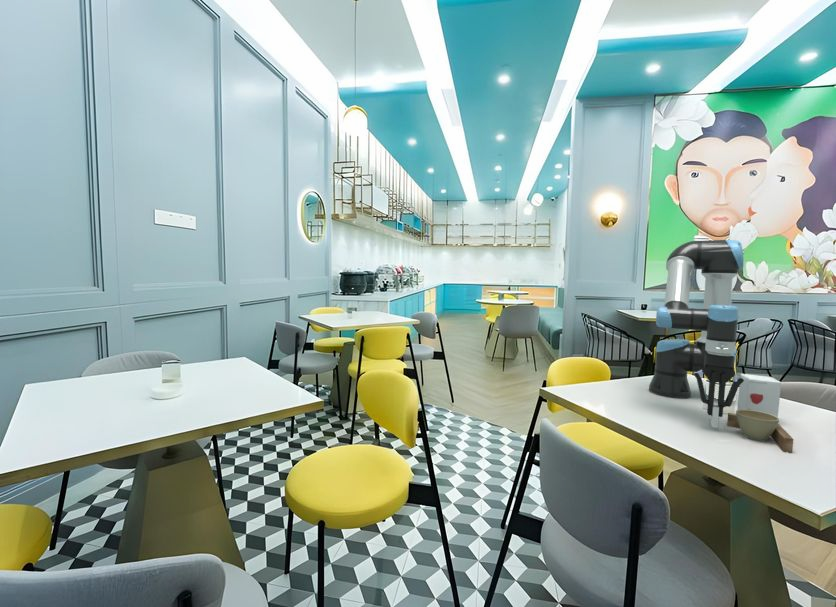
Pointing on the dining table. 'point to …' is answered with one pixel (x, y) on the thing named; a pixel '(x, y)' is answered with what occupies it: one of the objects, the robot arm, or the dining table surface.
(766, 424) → the flower pot
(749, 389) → the supplement box
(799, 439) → the dining table surface
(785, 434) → the l-shaped wooden block
